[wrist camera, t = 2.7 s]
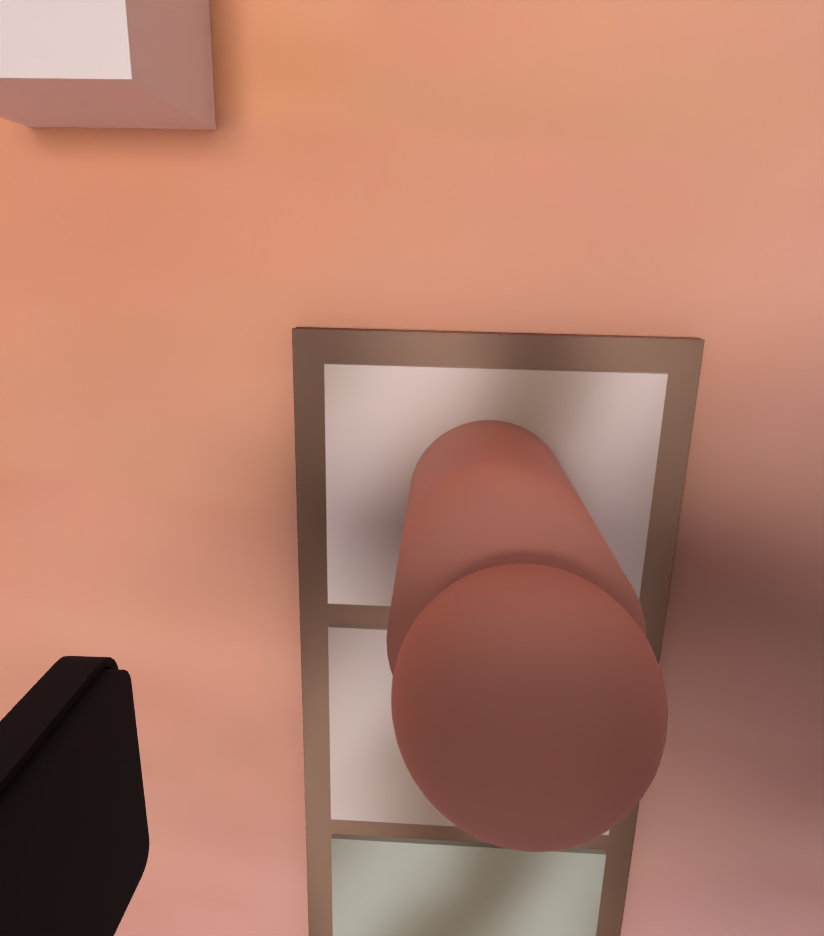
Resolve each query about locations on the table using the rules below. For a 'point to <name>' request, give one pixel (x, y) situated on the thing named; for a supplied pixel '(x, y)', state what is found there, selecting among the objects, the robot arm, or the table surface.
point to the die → (107, 64)
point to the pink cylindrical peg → (518, 649)
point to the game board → (372, 582)
